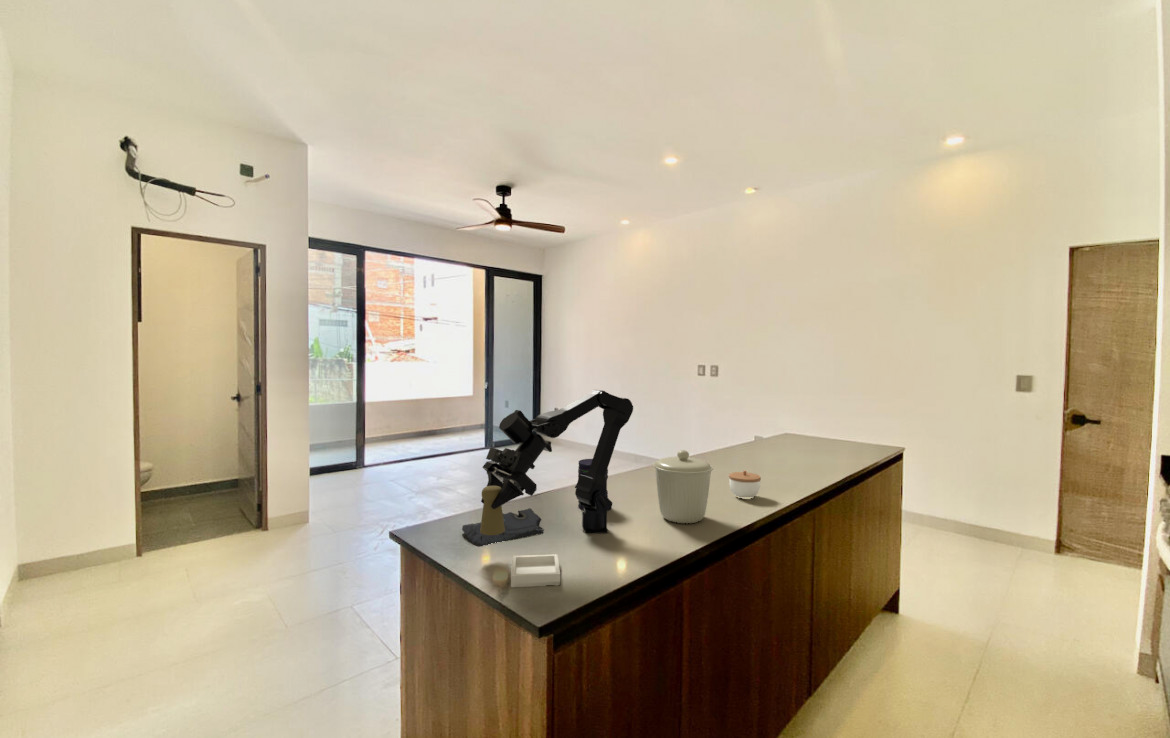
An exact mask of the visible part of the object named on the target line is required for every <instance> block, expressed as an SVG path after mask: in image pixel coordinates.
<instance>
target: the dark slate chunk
mask: <svg viewBox="0 0 1170 738" xmlns="http://www.w3.org/2000/svg"><path fill="white" fill-rule="evenodd" d="M517 513H518V514H517ZM517 513H514V512H512V511H511V512H510V511H509V512H507V513H503V520H504V527H505V531H504V532H503V533H501V534H498V535H484V534H481V533H480V528H481V521H480V522H476V523H469V524H463V525H462V528H461V530H462V532H463V533H464V535H465V536H466V537H467V538H468V540H469V541H470V542H472V544H473V545H475V546H478V547H484V546H483V545H485V546H489V545H488V544H490V545H492V544H491V543H493V544H498V543H497V542H500V543H503V542H502V541H505V542H509V541H508V540H510V541H513V539H514V540H519V539H523V538H528V537H532V536H531V535H533V536H537V535H536V534H538V535H540V534H541V533H542V534H543V533H544V530H545V529H543V528H542V527H540V524H541V521H542V518H541V517H540V516H539V515H538V514H537V513H535V512H534V510H533V509H532V508H527V509H526V508H525V509H521V510H518V511H517ZM541 528H542V529H541ZM542 534H541V535H542ZM527 536H528V537H527ZM522 537H523V538H522ZM518 538H519V539H518ZM495 542H496V543H495Z"/></svg>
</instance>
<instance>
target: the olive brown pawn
mask: <svg viewBox="0 0 1170 738" xmlns="http://www.w3.org/2000/svg"><path fill="white" fill-rule="evenodd" d="M501 489H502V488H501V487H499V486H487V485H486V486H485V487H483V489H482V491H481V500H482V499H483V500H484V504H483V503H482V504H483V505H482V512H481V513H482V514H481V521H480V522H481V528H480V533H481V534H484V535H498V534H501V533H503V532H504V531H505V527H504V520H503V514H504V513H503V508H502V507H503V505H501V506H499V507H498V508H496V509H493V508H491V505H492V503H493V502H494V500H495V498H496V497H497V495H498V494H499V492H500V490H501Z"/></svg>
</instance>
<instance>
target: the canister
mask: <svg viewBox="0 0 1170 738" xmlns="http://www.w3.org/2000/svg"><path fill="white" fill-rule="evenodd" d="M652 465H653V467H654V469H655V477H656V479H655V480H656V489H657V490H656V491H657V497H658V498H657V499H658V506H659V511H660V513H661V516H662V517H663V518H664V519H665V520H667V521H669V522H671V523H676V522H677V524H685V523H686V524H688V523H689V524H694V523H698V521H699V522H700V521H702V520H703V519H704V517H705V515H706V512H707V511H706V510H707V506H708V499H709V491H710V482H711V477H712V476H711V474H712V471H713V470H714V466H713V464H710V463H709V462H708V461H707V460H704V459H701V458H697V457H690V453H689V451H687V450H685V449H684V450H683V449H680V450H679V451H678V452H677V456H667V457H663V458H660V459H658V460H657V461H655V462H653V464H652Z"/></svg>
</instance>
